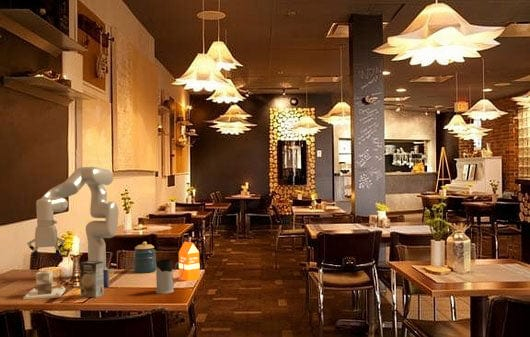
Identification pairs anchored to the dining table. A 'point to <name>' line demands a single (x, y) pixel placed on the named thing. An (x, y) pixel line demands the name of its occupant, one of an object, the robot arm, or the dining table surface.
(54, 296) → the baseplate
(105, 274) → the flask
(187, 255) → the orange juice
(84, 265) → the coffee box
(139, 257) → the canister
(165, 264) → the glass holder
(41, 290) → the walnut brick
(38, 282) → the ash brick
